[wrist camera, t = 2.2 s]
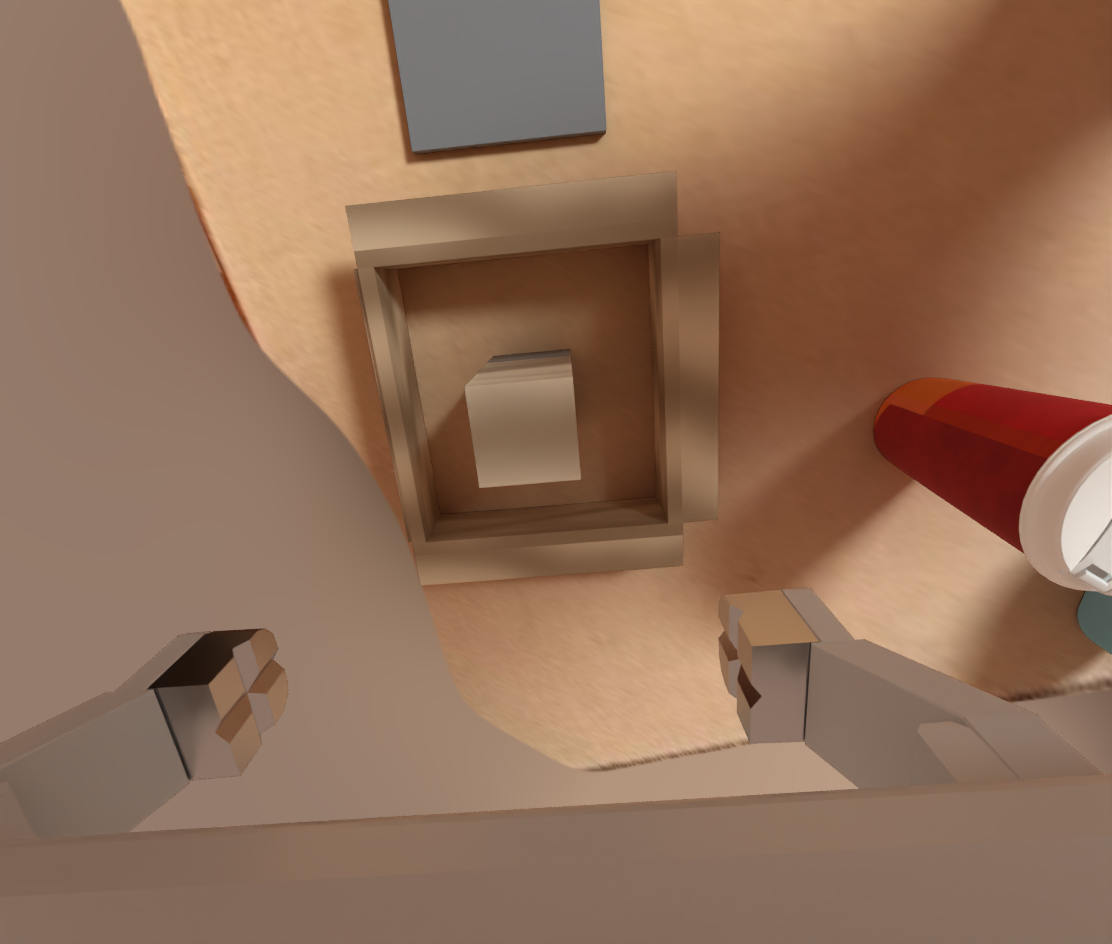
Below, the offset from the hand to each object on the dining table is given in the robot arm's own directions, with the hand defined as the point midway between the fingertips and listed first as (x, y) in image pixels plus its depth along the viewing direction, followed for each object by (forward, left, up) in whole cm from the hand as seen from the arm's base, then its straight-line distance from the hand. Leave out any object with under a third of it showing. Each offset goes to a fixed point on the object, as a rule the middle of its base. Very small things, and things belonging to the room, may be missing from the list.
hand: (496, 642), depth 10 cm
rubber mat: (-20, 0, -24) cm, 31 cm away
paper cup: (+4, +23, -24) cm, 33 cm away
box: (0, 0, -24) cm, 24 cm away
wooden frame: (0, 0, -24) cm, 24 cm away
